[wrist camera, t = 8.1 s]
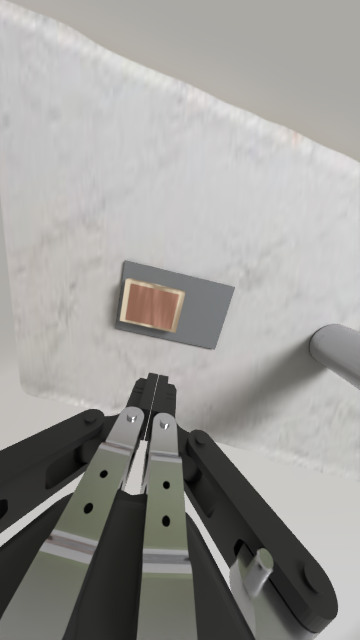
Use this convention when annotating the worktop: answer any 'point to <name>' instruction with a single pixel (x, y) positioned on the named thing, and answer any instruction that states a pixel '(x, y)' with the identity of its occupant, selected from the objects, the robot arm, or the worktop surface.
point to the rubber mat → (197, 310)
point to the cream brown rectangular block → (151, 305)
